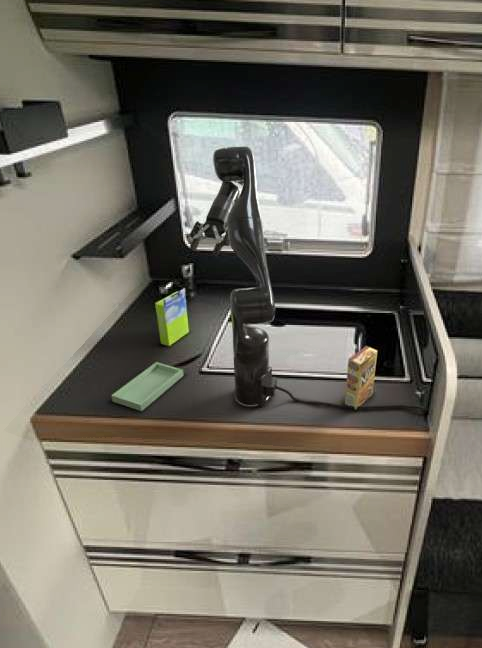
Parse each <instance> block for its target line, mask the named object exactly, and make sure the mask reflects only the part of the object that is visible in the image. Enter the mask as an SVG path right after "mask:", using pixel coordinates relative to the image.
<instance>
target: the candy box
mask: <svg viewBox="0 0 482 648" xmlns="http://www.w3.org/2000/svg"><path fill="white" fill-rule="evenodd" d="M377 358H378V350H377V349H375V348H372V347H370V346H368V345H365V346H364V347H363V348H361V349H360V350H358V351H357V352H356V353H355V354H353V355H352V356H351V357H349V358H348V360H347V361H348V362H347V372H346V373H347V374H346V384H345V385H346V387H345V397H344V405H347V406H354V408H355V409H354V410H358V409H357V407H358V406H363V404H364V403H365V402H366V401H367V400H368V399H369V398H370V397H372V395H373V392H374V385H375V384H374V383H375V376H376V375H375V374H376V366H377Z"/></svg>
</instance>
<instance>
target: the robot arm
mask: <svg viewBox="0 0 482 648" xmlns="http://www.w3.org/2000/svg"><path fill="white" fill-rule="evenodd" d="M212 163H213V169H214V172H215V175H216V177H217V179H218V180H219V181H221V185H220V187H219V190H218V193H217V194H216V197H215V198H214V199H213V202H212V204H211V206H210V208H209V211H208V212H207V214H206V218H205V222H204V223H201V222H200V221H198V220H197V221H195V223H194V224H193V227H192V228H191V231H190V232H189V234H188V236H189V237H190V238H191V239H192V242H191V243H190V245H189V248H190V251H192V252H197V249H198V247H199V244H200V242H201V241H202V240H206V239H207V238H208V239H214V240H216V242H217V243H215V246H214V247H213V249H212V255H213V256H214V257H217V256H219V255H220V253H221V251H222V249H223V247H224V246H225V247H229V246H230V248H231V249H232V251H233V252H234V253H235V255H236V256H237V258H239V259H240V260H241V261H242V262H243V264H244V265H245V266H246V268H248V270H249V271H250V272H251V274H252V276H253V278H254V280H255V283H256V285H257V286H256V287H246V288H235V289H233V290H232V291H231V293H230V295H229V309H230V310H229V311H230V318H231V329H232V351H233V353H232V354H233V355H232V356H233V373H234V374H233V375H234V398H235V399H234V400H235V402H236V403H237V404H238V405H239V406H241V407H243V408H250V409H251V408H263V406H265V404H266V403H267V402H268V401H269V399H270V398H271V397H274V396H275V394H276V390H278V391H281V392H284V393H286V394H287V395H288V396H289V397H290V398H291V399H292V400H293V401H294V402H298V403H301V404H308V405H320V406H321V405H322V406H328V407H333V408H334V407H335V408H341V409H352V410H353V409H354V410H355V408H354V406H348V405H346V404H338V403H333V402H332V403H331V402H325V401H315V400H303V399H301V398H300V399H299V398H297V397H295V396H294V395H293V394H292V393H291V391H289V390H288V389H286V388H284V387H281V386H278V377H275V376H273V367H272V366H270V338H269V334H268V333H267V331H266V330H264V329H263V328H260V327H256V326H252V325H259V324H267V323H269V324H270V323H271V322H273V321H274V319H275V318H276V317H275V316H276V303H275V298H274V292H273V288H272V283H271V278H270V274H269V267H268V263H267V255H266V248H265V247H266V246H265V236H264V228H263V222H262V216H261V210H260V205H259V199H258V189H257V177H256V164H255V158H254V154H253V152H252V149H251V148H250V147H249V146H245V145H243V146H241V145H240V146H239V145H238V146H229V147H220V148H217V149H215V151H214V152H213V155H212ZM235 183H236V184H238V185H241V186H242V187H241V189H240V188H239V186H237V185H236V184H235ZM223 235H224V236H223ZM387 408H388V409H389V408H409V409H418V410H421V411H424V412H425V413H427V412H426V410H424V408H425V407H424V406H422V405H414V404H413V405H412V404H401V403H400V404H398V403H397V404H382V405H381V404H379V405H361V406H358V407H357V409H356V410H365V409H387Z"/></svg>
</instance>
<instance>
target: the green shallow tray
mask: <svg viewBox="0 0 482 648" xmlns="http://www.w3.org/2000/svg"><path fill="white" fill-rule="evenodd" d="M184 373H185V372H184V369H181V368H179V367H175V366H171V365H168V364H164V363H162V362H158V361H156V362H155V363H153V364H152V365H150V366H149V367H147V368H146V369H144V371H142V372H140V374H138V375H136V377H134V378H132V379H131V380H130V381H129V382H127V383H125V384H124V385H123V386H122V387H121V388H119V389H117V391H115V392H113V393H112V394H111V401H112V402H113V403H116V404H119V405H121V406H125V407H128V408H131V409H133V410H135V411H136V410H137V411H139V412H143V411H144V410H145V409H146V408H148V407H149V406H150V405H151V404H152V403H153V402H155V401H156V400H157V399H158V398H159V397H160V396H161V395H163V394H164V393H165V392H166V391H167V390H169V388H171V387H172V386H173V385H174V384H176V383H177V382H178V381H179V380H180V379H182V378H183V377H184Z"/></svg>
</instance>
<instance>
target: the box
mask: <svg viewBox="0 0 482 648" xmlns="http://www.w3.org/2000/svg"><path fill="white" fill-rule="evenodd" d="M154 307H155V313H156V319H157V325H158V332H159V339H160V344H161V345H164V346H168V347H171V346H172V345H173V344H174V343H176V342H177V341H179V340H180V339H181V338H183V337H185V336H186V335H187V334H188V333H190V329H189V320H188V308H187V299H186V288H185V287H184V288H182V289H181V290H178V291H175V292H173V293H171V294H170V295H168V296H166V297H164V298H162V299H161V300H158V301H157V302H155V303H154Z"/></svg>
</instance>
